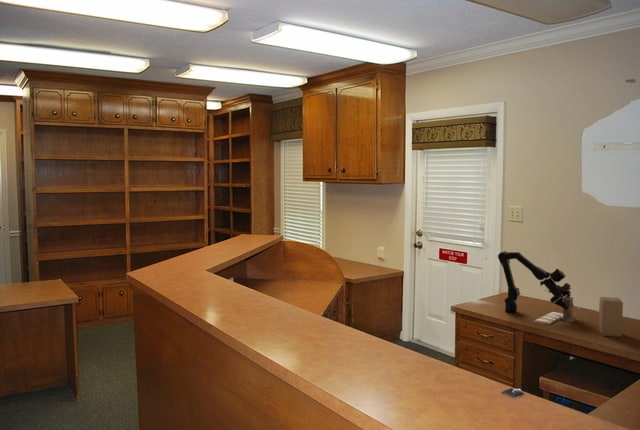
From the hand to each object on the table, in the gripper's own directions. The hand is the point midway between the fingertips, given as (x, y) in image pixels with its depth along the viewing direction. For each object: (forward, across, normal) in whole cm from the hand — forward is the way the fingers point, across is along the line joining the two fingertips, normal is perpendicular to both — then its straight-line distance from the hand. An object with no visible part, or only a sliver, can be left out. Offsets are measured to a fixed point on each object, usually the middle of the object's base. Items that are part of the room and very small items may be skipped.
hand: (570, 307), depth 315 cm
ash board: (-1, -5, +13) cm, 14 cm away
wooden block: (+24, -12, -12) cm, 29 cm away
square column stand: (+5, 0, +7) cm, 8 cm away
